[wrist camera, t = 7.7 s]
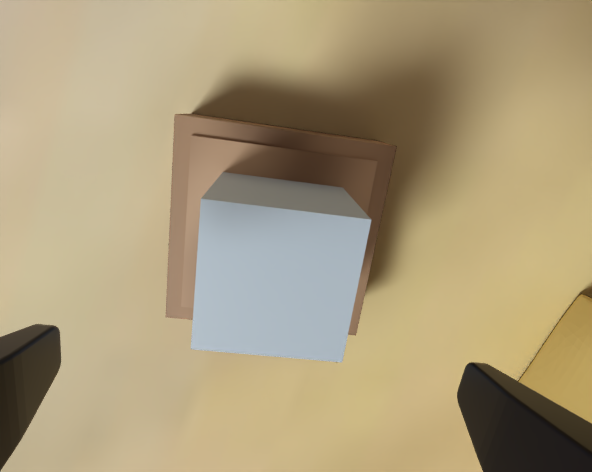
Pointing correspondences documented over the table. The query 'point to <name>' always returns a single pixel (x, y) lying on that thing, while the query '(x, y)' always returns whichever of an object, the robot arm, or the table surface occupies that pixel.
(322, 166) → the pedestal
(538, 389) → the cheese
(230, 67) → the table surface
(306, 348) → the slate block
